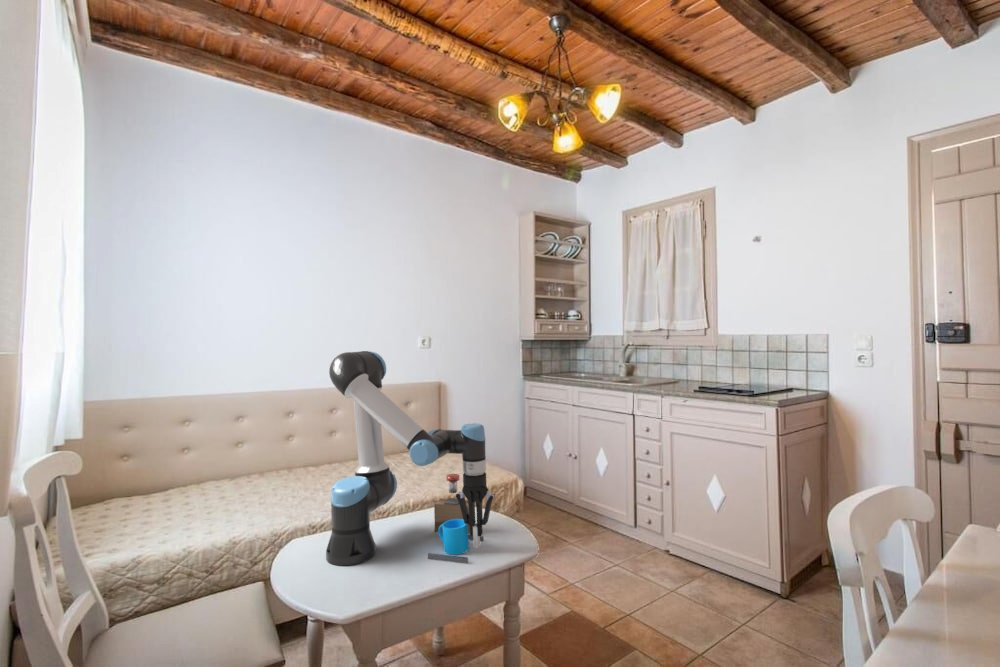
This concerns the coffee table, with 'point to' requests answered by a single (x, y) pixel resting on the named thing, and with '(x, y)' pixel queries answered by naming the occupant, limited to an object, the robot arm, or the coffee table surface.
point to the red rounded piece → (452, 482)
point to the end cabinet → (447, 512)
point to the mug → (454, 536)
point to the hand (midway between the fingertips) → (476, 545)
